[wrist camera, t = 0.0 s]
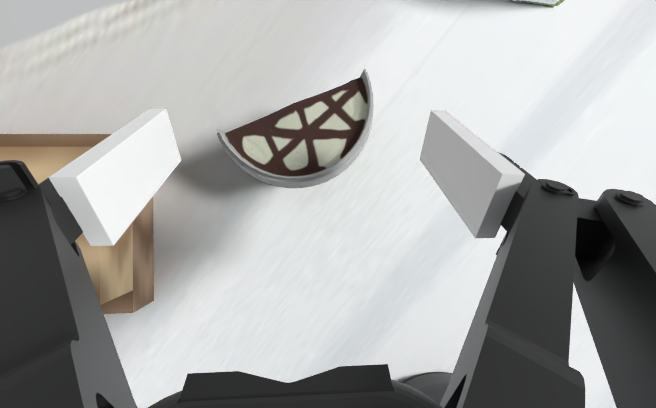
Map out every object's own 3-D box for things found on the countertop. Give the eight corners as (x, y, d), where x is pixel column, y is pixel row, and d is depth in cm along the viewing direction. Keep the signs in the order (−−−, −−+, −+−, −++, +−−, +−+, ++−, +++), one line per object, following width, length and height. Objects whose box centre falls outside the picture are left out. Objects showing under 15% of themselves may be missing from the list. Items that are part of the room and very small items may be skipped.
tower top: (132, 290, 26) (99, 305, 22) (-60, 295, 25) (-131, 312, 21) (132, 156, 26) (99, 146, 22) (-59, 156, 25) (-130, 146, 21)
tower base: (157, 298, 30) (132, 312, 26) (-9, 303, 29) (-60, 319, 25) (155, 144, 30) (131, 134, 26) (-9, 144, 29) (-60, 134, 25)
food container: (267, 212, 30) (245, 214, 20) (243, 157, 30) (209, 132, 20) (375, 165, 31) (406, 145, 21) (352, 112, 30) (372, 65, 20)
